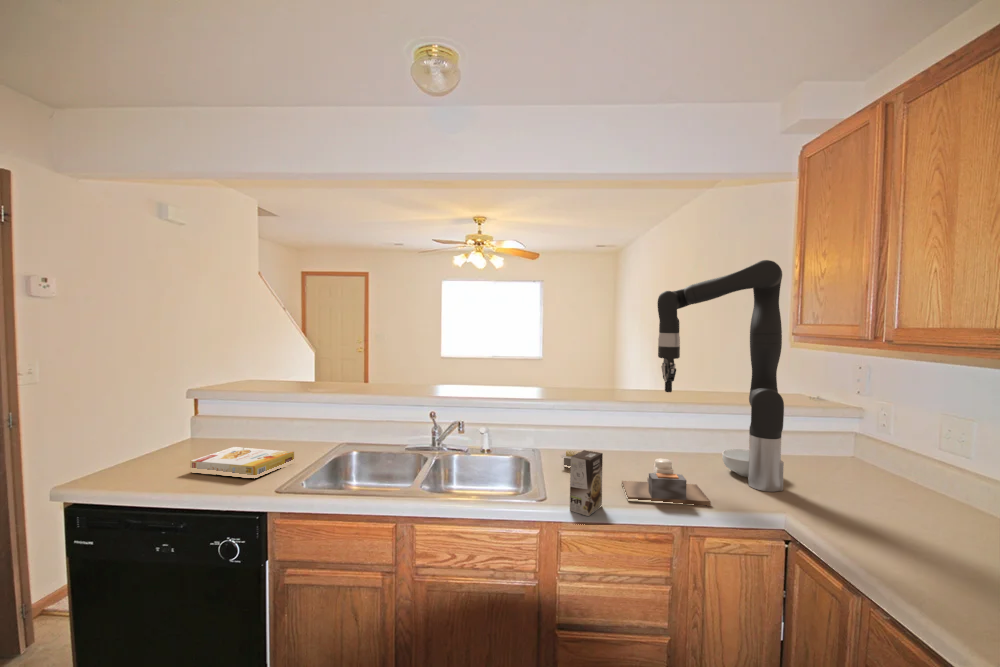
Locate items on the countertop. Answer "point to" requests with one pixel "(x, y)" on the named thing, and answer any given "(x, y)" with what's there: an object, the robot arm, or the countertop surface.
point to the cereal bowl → (737, 461)
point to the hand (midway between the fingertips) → (668, 391)
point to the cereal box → (243, 460)
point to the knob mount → (666, 490)
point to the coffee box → (586, 482)
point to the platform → (567, 458)
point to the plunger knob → (663, 466)
